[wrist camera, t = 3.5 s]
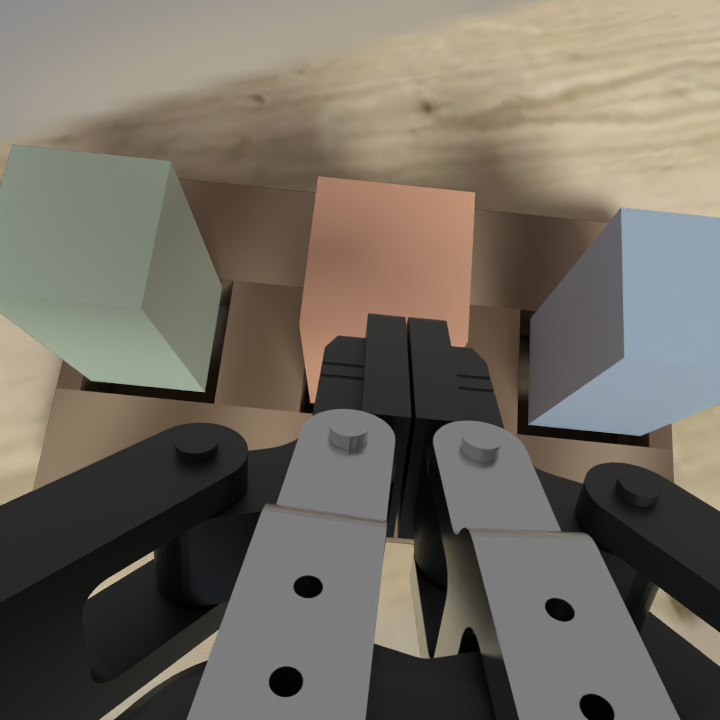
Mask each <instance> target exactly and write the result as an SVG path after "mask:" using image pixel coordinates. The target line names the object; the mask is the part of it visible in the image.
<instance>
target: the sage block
mask: <svg viewBox="0 0 720 720" xmlns="http://www.w3.org/2000/svg"><path fill="white" fill-rule="evenodd" d="M221 292H222V286H221V283H220V281H219V278H218V276H217V273H216V271H215V268H214V266H213V263H212V261H211V258H210V256H209V253H208V251H207V249H206V246H205V244H204V241H203V239H202V236H201V234H200V231H199V229H198V226H197V224H196V221H195V219H194V217H193V214H192V212H191V209H190V207H189V204H188V202H187V199H186V197H185V194H184V192H183V189H182V187H181V184H180V182H179V180H178V177H177V175H176V172H175V170H174V167H173V165H172V162H171V161H167V160H158V159H148V158H138V157H129V156H119V155H109V154H100V153H90V152H80V151H71V150H61V149H52V148H42V147H32V146H23V145H13V144H12V147H11V151H10V154H9V158H8V161H7V165H6V169H5V172H4V176H3V179H2V183H1V186H0V313H1V314H2V315H3V316H5V317H6V318H8V319H9V320H10V321H12V322H13V323H14V324H16V325H17V326H18V327H20V328H21V329H22V330H24V331H25V332H26V333H28V334H29V335H30V336H32V337H33V338H34V339H36V340H37V341H38V342H40V343H41V344H42V345H44V346H45V347H46V348H48V349H49V350H51V351H52V352H53V353H55V354H56V355H57V356H59V357H60V358H61V359H63V360H64V361H65V362H67V363H68V364H69V365H71V366H72V367H73V368H75V369H76V370H77V371H79V372H80V373H81V374H83V375H84V376H85V377H87V378H88V379H90V380H91V381H98V382H108V383H118V384H128V385H138V386H148V387H158V388H168V389H178V390H188V391H198V392H205V389H206V383H207V377H208V370H209V364H210V358H211V352H212V346H213V340H214V334H215V328H216V322H217V316H218V310H219V304H220V298H221Z"/></svg>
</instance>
